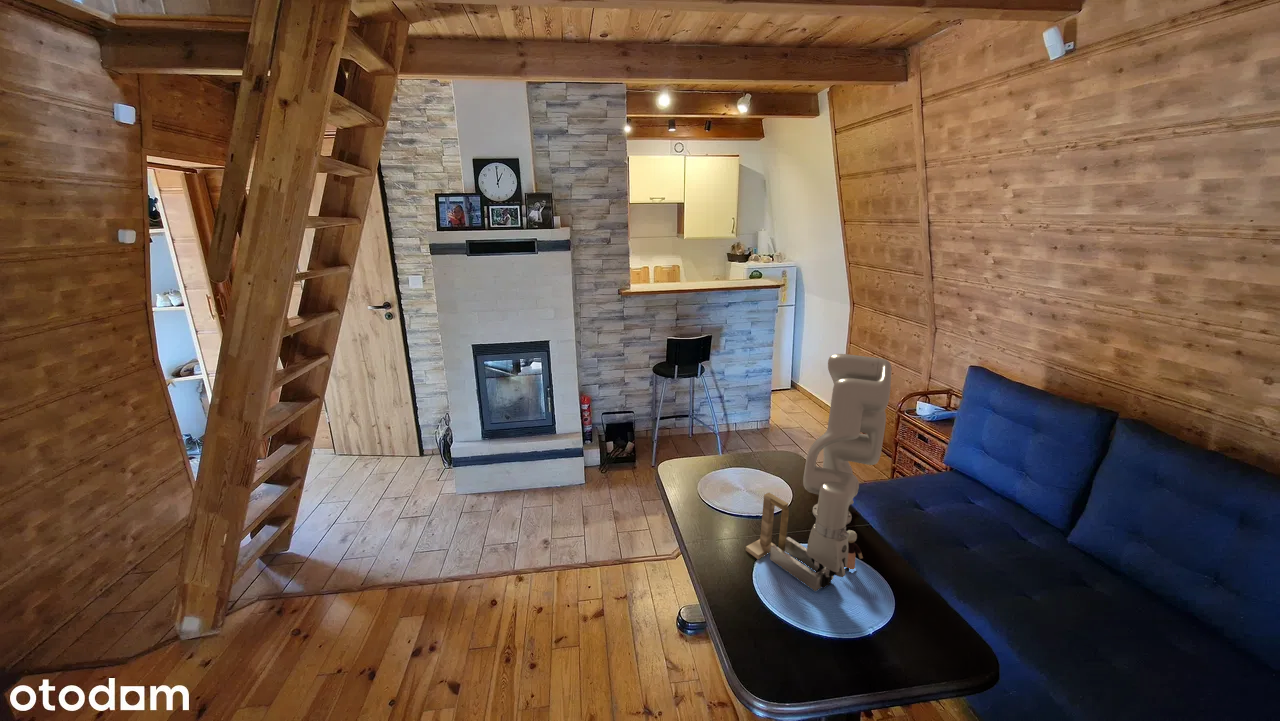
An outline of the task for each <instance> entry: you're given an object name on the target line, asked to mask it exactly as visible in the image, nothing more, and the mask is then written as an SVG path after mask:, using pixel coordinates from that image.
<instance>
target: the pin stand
mask: <svg viewBox="0 0 1280 721" xmlns="http://www.w3.org/2000/svg"><path fill="white" fill-rule="evenodd" d="M775 507H777V508H779V510H781V516H780V524H779V535H778V536H779V537H778V545H776V544H775V543H773V542H772V536H773V527H774V519H775V518H774V516H775ZM789 513H790V508H789V503H788V502H786V501H784V500H783V499H781V498H779V497H777V495H775V494H773V493H771V492H767V493H765V494H764V495H763V504H762V515H761V526H760V538H759V539H758V540H755V541H753V542H752V543H749V544H748V545H746V546H745V552H747V553H748V554H750V555H752V556H753V557H754V558H756V560H759V559H761V557H762V558H764V557H765V556H767V555H768V554H770V553H769V552H771V546H773V545H775V546H777V547H778V548H780V549H781V550H783V551H784V552H785V544H786V538H787V534H788V524H789V523H788V522H789V515H790V514H789ZM767 553H768V554H767ZM766 554H767V555H766ZM764 555H765V556H764Z"/></svg>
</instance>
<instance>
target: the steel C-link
mask: <svg viewBox="0 0 1280 721" xmlns="http://www.w3.org/2000/svg"><path fill="white" fill-rule="evenodd" d="M775 545H776V544H775ZM775 545H773V546H771V552H770V553H769V560H770V561H772V562H773V563H775V564H776V565H777V564H778V565H777V566H779V567H780V566H781V567H782V568H781V567H780V568H781V569H783V570H784V569H785V570H784V571H786V572H787V571H788V572H789V573H788V572H787V573H788V574H790V575H791V574H792V575H791V576H793V577H794V578H795V577H796V578H795V579H797V578H798V579H799V580H798V579H797V580H798V581H800V582H801V581H802V582H803V583H802V582H801V583H802V584H804V583H805V584H806V585H805V584H804V585H805V586H806V587H808V586H809V587H810V589H811V588H812V589H813V590H812V589H811V590H812V591H814V592H815V591H816V592H817V591H819V590H820V589H822V588H821V587H822V586H821V585H822V578H823V575H824V574H825V570H826V567H825V566H823V567H825V568H823V569H822V570H820V571H819V572H817V573H815V571H816V570H815V569H814V564H813V562H812V560H811V559H810V558H809V556H808V555H807V554H806V552H807V547H805V546H804V545H802V544H801V543H799V542H797V541H796V540H795V539H793V538H791V537H790V536H786V544H785V552H784V551H783V550H781V549H780V548H778V545H776V546H775ZM788 553H789V554H788ZM791 555H792V556H791ZM794 557H795V558H797V559H798V560H800V561H802V562H803V563H805V564H806V565H807V566H809V567H810V568H812V569H813V570H815V571H813V570H812V569H810V568H809V567H807V566H806V565H804V564H803V563H801V562H800V561H798V560H797V559H795V558H794ZM832 579H833V580H834V576H832ZM832 579H831V580H832ZM833 580H832V581H833ZM809 587H808V588H809ZM818 589H819V590H818Z"/></svg>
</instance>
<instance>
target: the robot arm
mask: <svg viewBox="0 0 1280 721" xmlns="http://www.w3.org/2000/svg"><path fill="white" fill-rule="evenodd" d="M827 369H828V370H827V371H828V372H829V375H830V378H831V379H832V381H833V387H832V394H831V399H830V408H829V416H828V422H827V429H826V431H825V432H824V433H823V434H822V435H821V436H819V437H818V438H817V439H816V440H815V441H814V442H813V443H812V444H811V446H810V448H809V449H808V452H807V455H806V459H805V466H804V471H803V472H804V473H803V477H802V478H803V479H802V482H803V487H804V489H805V490H806V491H807V492H808V493H810V494H815V495H818V501H817V503H816V504H814V505H813V507H812V514H813V516H814V517H815V523H814V524H813V525H812V528H811V530H810V533H809V536H808V537H809V538H808V540H807V545H806V546H807V547H806V548H807V552H806V554H807V555H808V556H809V558H810V559H811V560H812V562H813V564H814V569H815V570H816V572H815V571H814V572H815V573H817V572H819V571H820V570H822V569H823V568H825V567H826V570H825V574H824V575H823V578H822V585H821V586H822V588H821V589H825V588H826V587H827V586H828V587H829V586H831V583H832V581H831V579H832V576H833V577H834V576H836V577H839V578H843V577H845V576H846V570H845V569H844V567H846V566H847V563H848V536H849V533H848V532H847V531H848V530H847V525H848V524H850V523H851V521H852V518H853V517H852V513H851V512H850V511H849V508H850V506H852V505H854V499H855V497H857V495H858V492H859V488H860V482H859V480H858V477H857V476H856V475H855V474H854V471H853V469H852V466H851V464H850V462H852V463H857V464H863V465H869V466H873V465H874V466H875V465H877V464H878V462H879V461H880V458H881V455H882V450H883V445H884V444H883V442H884V437H885V432H886V431H885V430H886V423H887V414H886V409H887V408H888V405H889V403H890V398H891V396H890V395H891V389H892V388H891V384H892V365H891V363H890V361H889V360H887V359H885V358H881V357H872V356H864V355H856V354H848V353H847V354H846V353H834V354H832V355H830V356H829V358H828V361H827ZM821 451H823V462H822V467H821V466H817V460H818V456H819V454H820V453H821ZM823 566H825V567H823Z"/></svg>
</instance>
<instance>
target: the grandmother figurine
mask: <svg viewBox="0 0 1280 721" xmlns="http://www.w3.org/2000/svg"><path fill="white" fill-rule="evenodd" d="M846 531H847V532H848V533H849V536H848V563H847V566H846V567H847V568H848V569H849V568H850V569H854V568H856V556H857V555H858V558H859V560H861V559H864V557H863V554H862V551H861V549H860V547H859V545H858V544H857V543H855V542H856V541H857V539H858V534H857V533H856V531H854V530H851V529H848V530H846ZM856 554H857V555H856Z"/></svg>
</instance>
